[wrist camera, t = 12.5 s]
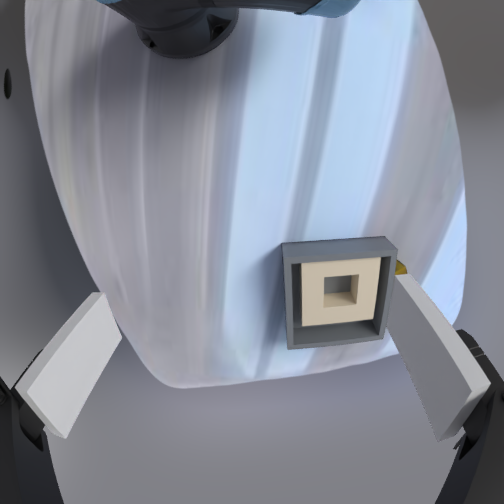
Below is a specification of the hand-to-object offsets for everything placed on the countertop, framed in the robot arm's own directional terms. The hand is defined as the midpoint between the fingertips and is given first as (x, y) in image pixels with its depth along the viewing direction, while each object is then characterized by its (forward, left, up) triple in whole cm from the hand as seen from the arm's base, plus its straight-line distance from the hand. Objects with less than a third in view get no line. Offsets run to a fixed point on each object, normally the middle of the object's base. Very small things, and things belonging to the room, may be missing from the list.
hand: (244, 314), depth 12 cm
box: (+18, +11, -32) cm, 38 cm away
